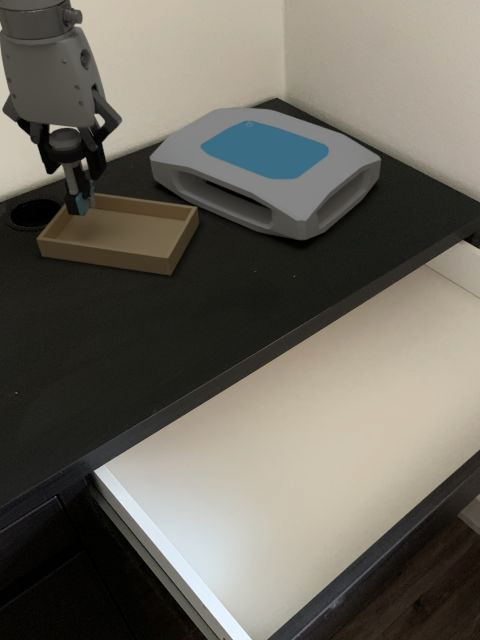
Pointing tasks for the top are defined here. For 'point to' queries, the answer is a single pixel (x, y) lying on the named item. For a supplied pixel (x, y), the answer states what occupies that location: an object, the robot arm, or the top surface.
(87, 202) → the push button
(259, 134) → the grey rounded box
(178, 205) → the tray
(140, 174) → the top surface
